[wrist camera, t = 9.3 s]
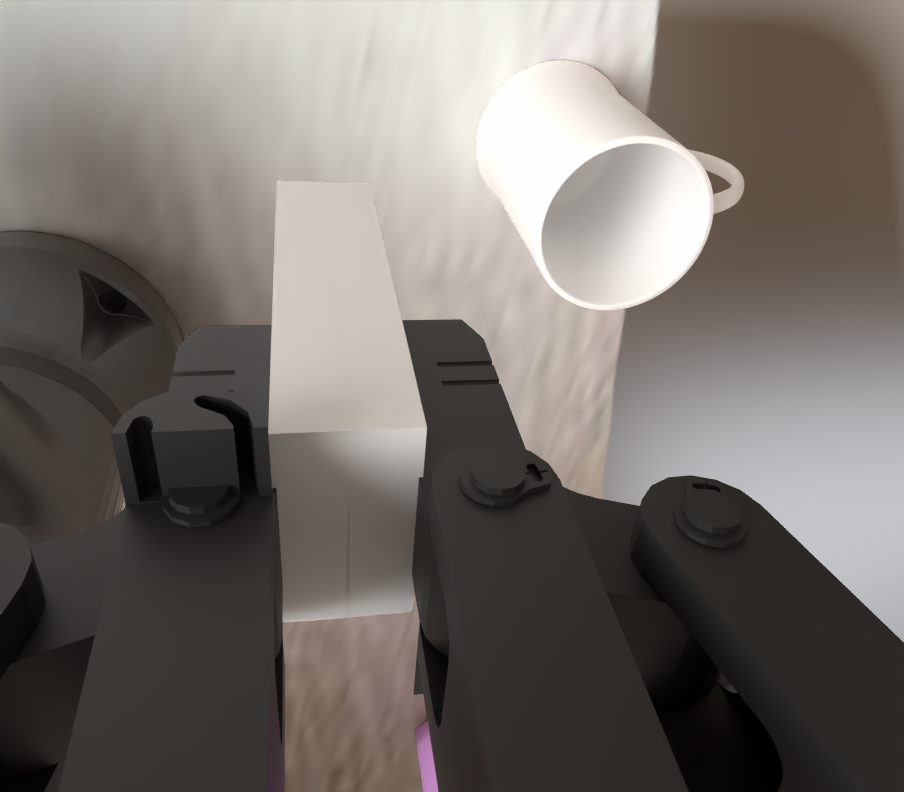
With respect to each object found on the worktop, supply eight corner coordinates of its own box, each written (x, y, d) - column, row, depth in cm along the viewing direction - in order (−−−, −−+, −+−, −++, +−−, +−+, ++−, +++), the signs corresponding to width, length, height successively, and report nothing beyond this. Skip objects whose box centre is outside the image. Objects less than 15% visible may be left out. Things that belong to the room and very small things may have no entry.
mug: (696, 64, 42) (816, 134, 33) (660, 214, 47) (754, 313, 37) (483, 55, 40) (544, 126, 30) (468, 213, 45) (517, 317, 35)
